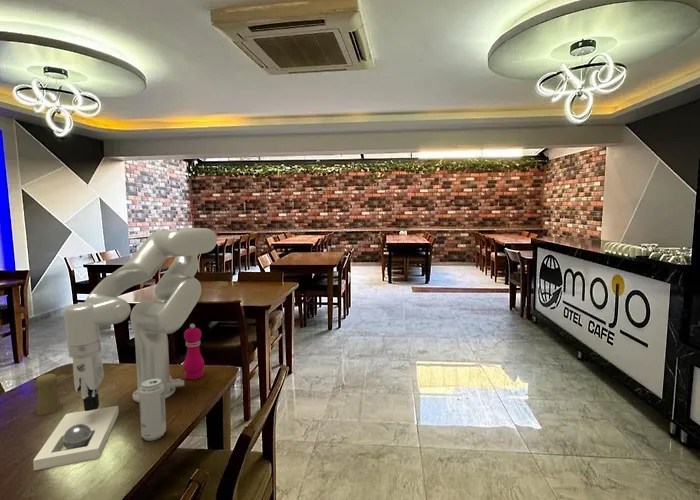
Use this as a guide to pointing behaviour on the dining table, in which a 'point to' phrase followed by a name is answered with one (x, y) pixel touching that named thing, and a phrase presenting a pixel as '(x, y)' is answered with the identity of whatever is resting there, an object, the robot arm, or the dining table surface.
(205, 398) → the dining table surface
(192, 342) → the pepper mill
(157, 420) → the energy drink can
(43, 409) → the cork
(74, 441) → the ball
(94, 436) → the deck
